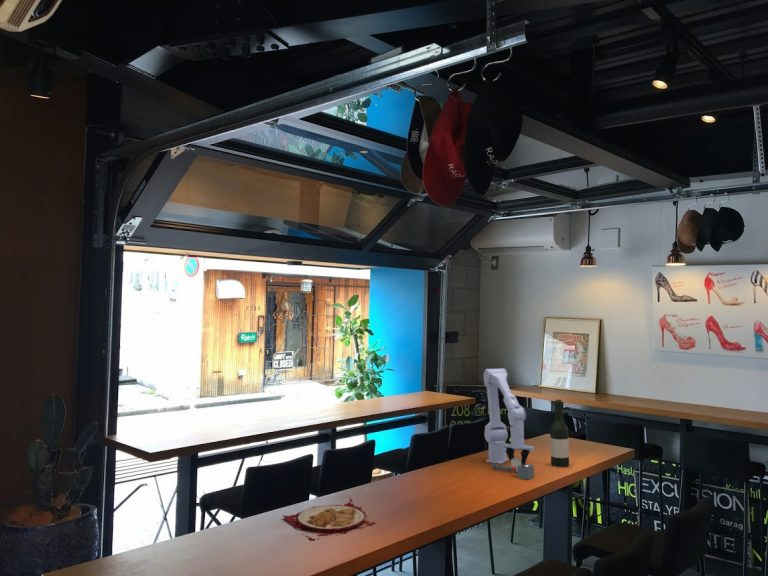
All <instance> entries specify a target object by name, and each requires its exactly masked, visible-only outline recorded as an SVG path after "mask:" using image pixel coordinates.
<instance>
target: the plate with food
mask: <svg viewBox="0 0 768 576" xmlns="http://www.w3.org/2000/svg"><path fill="white" fill-rule="evenodd" d="M353 502H354V501H353V499H352V498H351V497H349V502H347V503H344V505H343V504H328V505H318V506H312V507H310V508H306V509H305V510H302V511H300V512H297V513H296V514H291V515H284V514H282V517H283V518H284V519H285V520H286V521H288V522H289V524H290V525H291V526H293V527H294V528H295V529H296V528H299V529H300V532H302V531H303V532H306V533H308V532H309V533H314V534H315V535H316V536H317V537H318V538H312V537H313V536H312V537H310V536H308V535H307V537H308V539H309V540H315V541H316V540H320V539H319V538H320V536H321V537H328V536H332V534H333V535H335V534H336V535H345V534H347V533H348V532H349V531H351V530H355V529H357V528H360V527H361V528H360V529H362V530H363V531H364V530H365V529H366V527H373V525H377V523H376V522H375V521H372V522H370V520H369V519H370V518H369V517H368V515H367V514H366V512H365V511H363V508H362V505H361V506H355V504H353ZM366 518H367V519H368V520H367V519H366ZM372 524H373V525H372ZM364 525H365V527H364ZM349 533H350V532H349ZM304 534H305V533H303V534H302V535H303V536H304Z"/></svg>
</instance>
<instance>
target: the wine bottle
mask: <svg viewBox="0 0 768 576" xmlns="http://www.w3.org/2000/svg"><path fill="white" fill-rule="evenodd" d="M554 414H555V415H554V417H555V419H554V422H553V423H552V425H551V427H550V429H549V431H550V433H549V435H550V466H553V467H555V466H556V467H555V468H567V467H569V466H570V448H569V447H570V443H569V427H568V426H567V424H566V423H565V421H564V418H563V417H564V414H563V401H562V399H559V398H558V399H555V402H554Z"/></svg>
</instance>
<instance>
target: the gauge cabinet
mask: <svg viewBox="0 0 768 576" xmlns="http://www.w3.org/2000/svg"><path fill="white" fill-rule="evenodd" d="M534 466H535V465H534V464H529V463H525V464H523V463H522V464H521V465H519V466H517V468H518V472H517V479H519V478H520V479H522V480H526V479H527V480H528V481H529V480H531V479H532V478H534V477H535V475H534V474H535V473H534V471H535V470H534ZM527 480H526V481H527Z"/></svg>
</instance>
